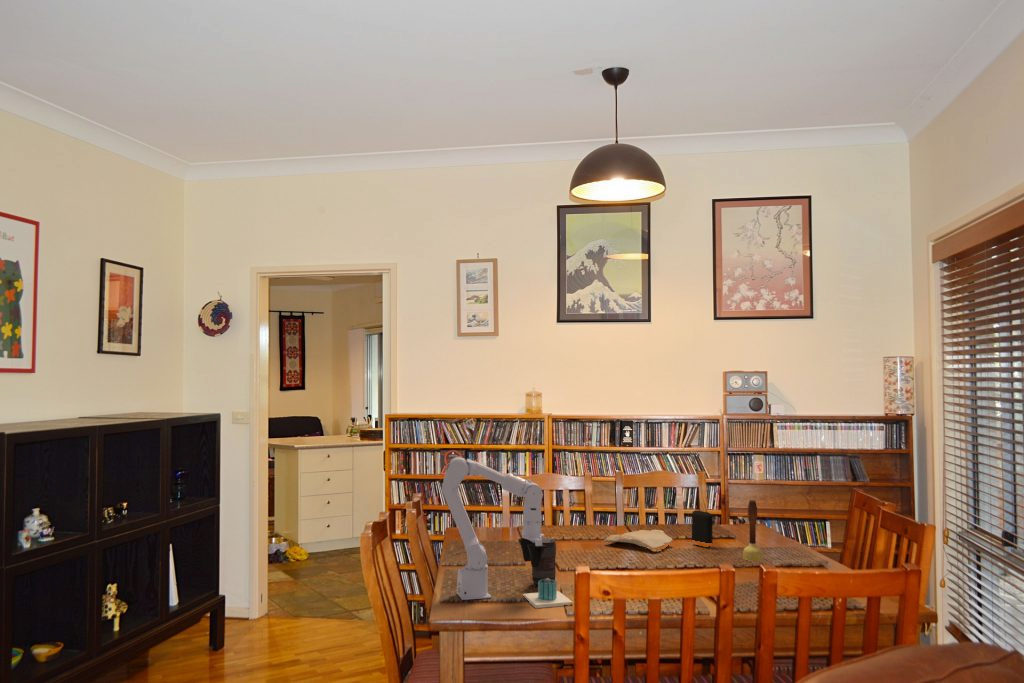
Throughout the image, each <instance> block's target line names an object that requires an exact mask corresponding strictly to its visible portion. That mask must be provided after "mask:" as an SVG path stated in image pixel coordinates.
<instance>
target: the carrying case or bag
mask: <svg viewBox="0 0 1024 683" xmlns="http://www.w3.org/2000/svg"><path fill="white" fill-rule="evenodd" d="M714 525H715V520H714V518H713V515H712V514H711V513H710V512H709V511H702V510H699V509H698V510H695V509H694V510H693V511H692V513H691V541H692V540H695V541H700V542H705V543H712V544H713V526H714Z"/></svg>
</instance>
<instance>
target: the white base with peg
mask: <svg viewBox="0 0 1024 683" xmlns="http://www.w3.org/2000/svg"><path fill="white" fill-rule="evenodd" d="M544 583H551V580H550V579H549V578H546V579H545V581H544ZM523 596H524V597H525V598H526V599H527V600H528V601H529V602H528V601H527V600H526V599H525V598H524V597H523ZM522 597H523V598H524V599H525V600H526V601H527V602H528V603H529V604H530V605H532V607H534V608H535V609H541V608H554V607H565V606H564V605H565V604H568V603H573V602H574V601H572V600H571V599H569V597H567V596H566V595H564V594H563V593H562V592H560V590H557V598H556V599H555V600H541V599H539V598H538V592H529V593H522ZM573 604H574V603H573Z"/></svg>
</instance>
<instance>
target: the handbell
mask: <svg viewBox="0 0 1024 683" xmlns="http://www.w3.org/2000/svg"><path fill="white" fill-rule="evenodd" d="M747 520H748V524H749V544H748V545H747V546H746V547H744V548H743V550H742V553H743V554H742V556H743V557H742V559H745V560H749V561H760V560H763V552H762V549H761V548H760V547H758V545H757V544H756V543H757V542H756V540H757V539H756V536H757V535H756V530H757V528H756V527H757V526H756V524H757V520H758V506H757V501H756V500H754V499H749V501H748V507H747Z"/></svg>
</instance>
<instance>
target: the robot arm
mask: <svg viewBox="0 0 1024 683" xmlns="http://www.w3.org/2000/svg"><path fill="white" fill-rule="evenodd" d="M467 476H469V477H476V476H480V477H482V478H484V479H487V480H490V481H492V482H495V483H497V484H500V486H501V489H502V490H503V491H506V492H508V493H510V494H513V495H515V496H517V497H520V498H522V497H523V498H524V499H523V509H522V510H523V511H522V513H523V515H522V516H523V519H522V521H523V522H522V530H521V538H518V542H519V545H520V548H521V551H522V552H521V553H522V558H523V561H524V562H525V563H526V562H530V566H531V568H532V567H539V563H540V559H541V556H542V553H543V551H544V549H545V545H542V539H541V538H545V534H543V533H542V506H541V505H542V499H543V497H544V494H543V490H542V488H541V487H540V486H539V484H537V483H536V482H534V481H531V479H529V478H527V479H525V478H523V477H521V476H518V473H516V472H513V473H511V472H508V473H505V474H503V473H501V472H500V471H497V470H495V469H493V468H491V467H489V466H486V465H485V464H482V463H480V462H478V461H475V460H472V459H469V458H464V457H463V456H455V457H453V458H451V460H450V461H449V462H448V464H447V466H445V472H444V477H443V481H442V485H441V491H442V494H443V496H444V499H445V501H446V503H447V505H448V508H449V510H450V513H451V516H452V518H453V521H454V523H455V526H456V527H457V530H458V533H459V536H460V537H461V540H462V542H463V546H464V549H465V551H466V558H467V560H466V561H467V563H465V565H464V567H462V568H458V569H457V576H456V578H457V579H456V580H457V583H456V594H457V595H458V597H459V598H460V599H461V601H462V600H463V601H466V600H480V599H481V600H482V599H492V595H491V594H490V593H489V592H488V591H489V590H488V589H489V588H488V578H489V577H488V576H489V574H488V573H489V565H488V555H487V550H486V548H485V546H484V545H483V544H482V543H481V542H480V540H479V539H478V536H477V533H476V532H475V530H474V527H473V525H472V522H471V520H470V517H469V515H468V512H467V511H466V508H465V506H464V503H463V501H462V498H461V496H460V493H459V491H458V489H459V487H460V485H461V482H462V481H463V480H465V479H466V477H467Z"/></svg>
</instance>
